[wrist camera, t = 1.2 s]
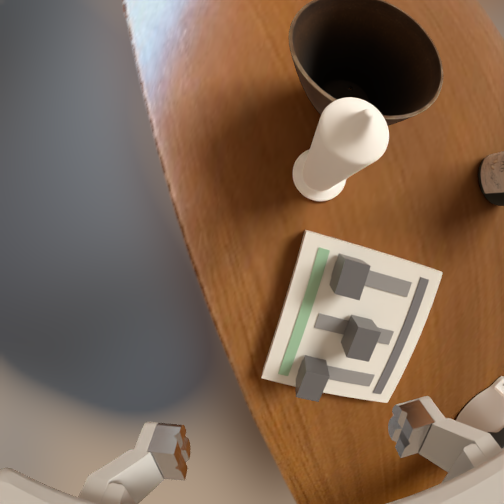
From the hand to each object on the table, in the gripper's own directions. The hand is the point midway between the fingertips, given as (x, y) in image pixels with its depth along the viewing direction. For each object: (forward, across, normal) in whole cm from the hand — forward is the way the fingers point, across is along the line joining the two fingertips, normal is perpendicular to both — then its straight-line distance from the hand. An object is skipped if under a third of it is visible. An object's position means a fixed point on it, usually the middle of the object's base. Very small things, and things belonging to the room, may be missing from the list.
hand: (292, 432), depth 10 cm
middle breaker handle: (+25, +11, -10) cm, 29 cm away
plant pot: (+32, +12, +20) cm, 39 cm away
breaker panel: (+28, +12, -10) cm, 32 cm away
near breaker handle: (+26, +10, -2) cm, 28 cm away
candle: (+31, +8, +10) cm, 33 cm away
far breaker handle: (+25, +5, -15) cm, 30 cm away
